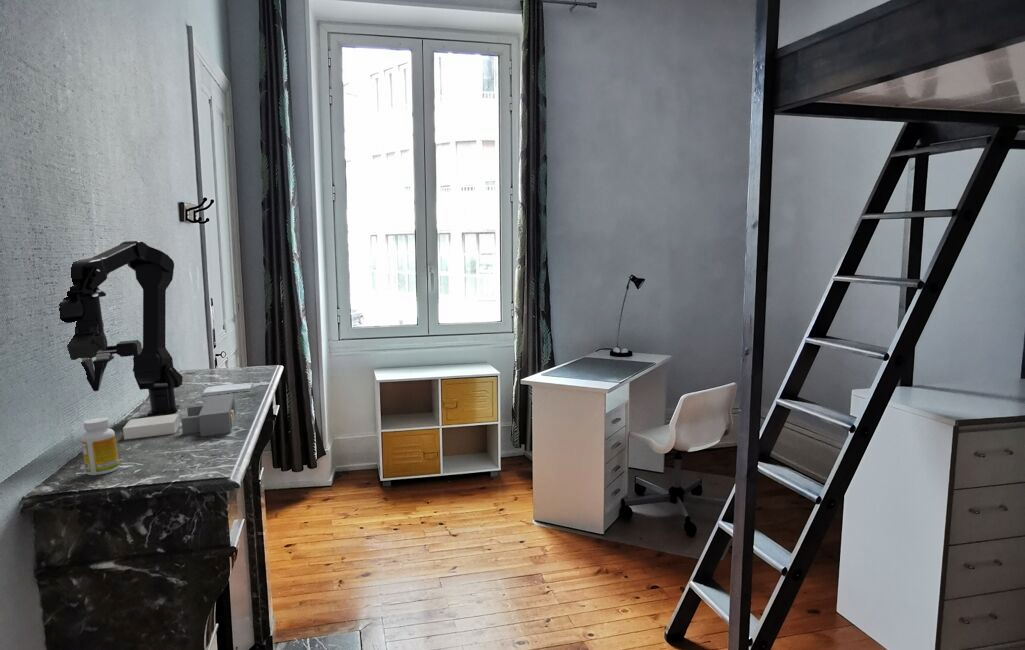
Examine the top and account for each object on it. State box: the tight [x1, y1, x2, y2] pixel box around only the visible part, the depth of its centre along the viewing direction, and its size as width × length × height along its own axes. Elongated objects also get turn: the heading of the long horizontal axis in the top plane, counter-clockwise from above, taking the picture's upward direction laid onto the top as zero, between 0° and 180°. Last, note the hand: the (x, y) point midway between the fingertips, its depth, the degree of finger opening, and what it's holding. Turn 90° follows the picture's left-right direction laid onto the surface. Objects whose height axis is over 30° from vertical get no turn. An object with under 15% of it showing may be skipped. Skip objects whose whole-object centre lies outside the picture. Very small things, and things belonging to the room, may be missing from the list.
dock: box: [180, 393, 237, 437], centre depth 157 cm, size 20×10×5 cm, turn 19°
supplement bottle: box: [80, 417, 120, 476], centre depth 127 cm, size 5×5×10 cm
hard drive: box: [202, 382, 255, 397], centre depth 193 cm, size 2×8×12 cm
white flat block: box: [122, 413, 181, 441], centre depth 153 cm, size 8×10×2 cm
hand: (96, 390), depth 149 cm, fingers closed
